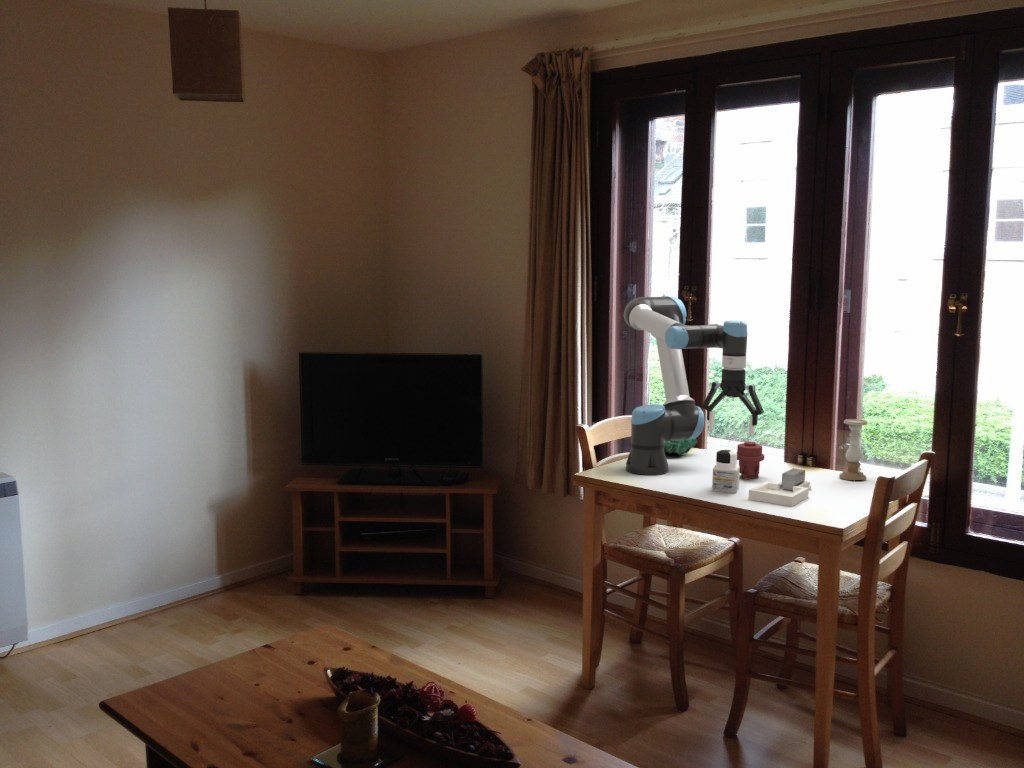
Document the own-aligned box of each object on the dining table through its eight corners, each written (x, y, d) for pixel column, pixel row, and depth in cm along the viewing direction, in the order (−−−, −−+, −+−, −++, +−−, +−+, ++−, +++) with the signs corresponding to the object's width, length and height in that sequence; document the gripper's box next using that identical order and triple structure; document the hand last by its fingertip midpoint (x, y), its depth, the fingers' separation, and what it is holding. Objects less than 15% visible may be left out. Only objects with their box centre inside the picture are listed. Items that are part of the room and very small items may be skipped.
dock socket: (748, 499, 280) (748, 489, 280) (778, 484, 299) (779, 475, 299) (791, 506, 271) (792, 496, 271) (820, 490, 291) (820, 481, 291)
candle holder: (871, 480, 304) (874, 422, 302) (847, 481, 303) (850, 423, 300) (857, 475, 313) (860, 418, 310) (834, 475, 311) (837, 418, 309)
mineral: (654, 449, 357) (655, 424, 356) (694, 449, 356) (695, 425, 354) (657, 458, 339) (658, 433, 338) (699, 459, 337) (700, 434, 336)
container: (711, 491, 290) (713, 452, 288) (715, 485, 297) (716, 447, 295) (736, 493, 287) (737, 454, 286) (738, 487, 294) (740, 449, 293)
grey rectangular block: (781, 488, 288) (782, 473, 287) (792, 482, 296) (793, 468, 295) (793, 490, 286) (794, 475, 285) (804, 484, 293) (805, 469, 293)
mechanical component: (731, 473, 315) (760, 474, 314) (736, 480, 305) (765, 481, 304) (733, 439, 313) (762, 440, 312) (737, 445, 303) (767, 445, 302)
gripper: (693, 366, 291) (691, 430, 294) (767, 372, 277) (764, 439, 280) (702, 364, 298) (700, 427, 300) (775, 370, 283) (772, 435, 286)
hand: (731, 433), depth 290 cm, fingers open, 13 cm apart
